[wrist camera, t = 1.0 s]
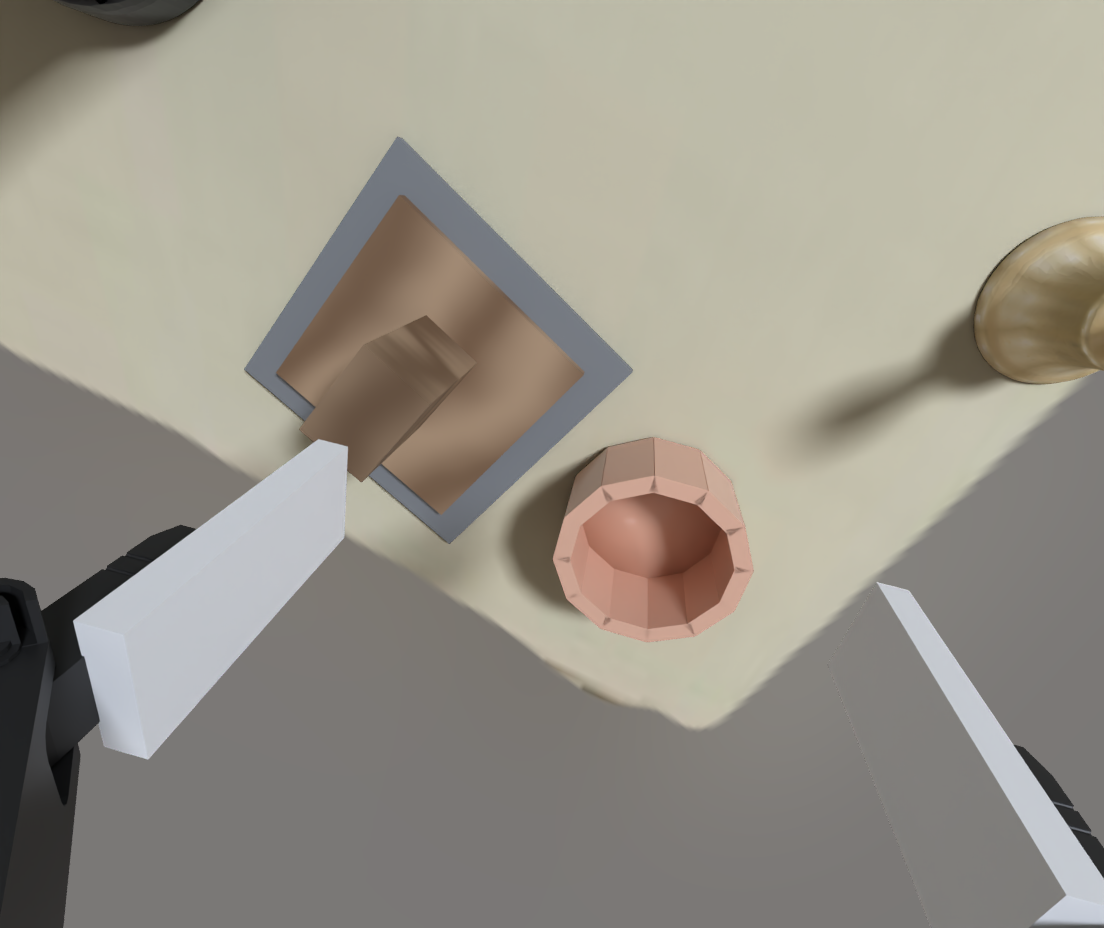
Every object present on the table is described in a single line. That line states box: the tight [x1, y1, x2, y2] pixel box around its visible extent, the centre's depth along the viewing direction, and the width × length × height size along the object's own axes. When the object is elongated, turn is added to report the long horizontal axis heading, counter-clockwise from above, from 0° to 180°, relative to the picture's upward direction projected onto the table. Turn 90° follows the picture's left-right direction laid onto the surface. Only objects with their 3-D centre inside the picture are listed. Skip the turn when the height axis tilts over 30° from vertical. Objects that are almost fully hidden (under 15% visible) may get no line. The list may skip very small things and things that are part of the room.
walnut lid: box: [276, 195, 584, 515], centre depth 31 cm, size 14×14×9 cm
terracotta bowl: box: [553, 437, 754, 642], centre depth 35 cm, size 11×11×6 cm
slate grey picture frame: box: [244, 137, 633, 544], centre depth 35 cm, size 18×18×1 cm
